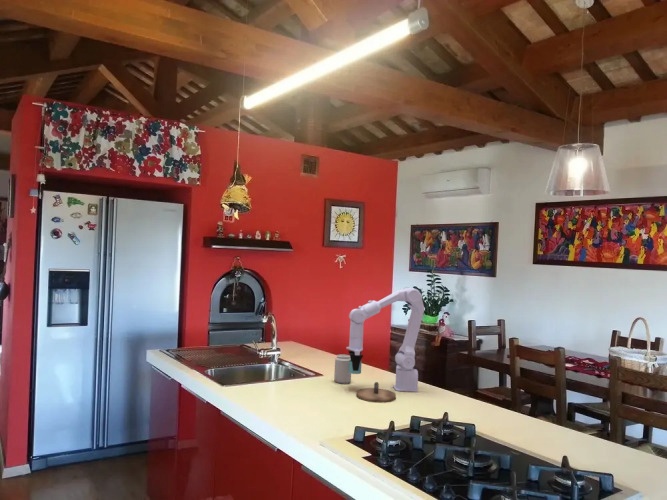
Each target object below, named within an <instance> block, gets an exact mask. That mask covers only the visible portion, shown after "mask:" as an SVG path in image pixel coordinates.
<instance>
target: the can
mask: <svg viewBox="0 0 667 500" xmlns="http://www.w3.org/2000/svg"><path fill="white" fill-rule="evenodd" d="M349 360H351V358H350V354H349V355H348V354H337V355H336V357H335V359H334V374H333V375H334V377H333V380H334V381H335V383H337V384H343V385H346V384H349V383H350V382H351V381H352V374H351V373H349V372H348V368H349Z"/></svg>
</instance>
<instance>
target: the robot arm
mask: <svg viewBox="0 0 667 500" xmlns="http://www.w3.org/2000/svg"><path fill="white" fill-rule="evenodd" d="M397 302H404V303H406V304H407V305H408V307H409V308H410V311H411V312H410V316H409V319H408V323H407V326H406V331H405V334H404V338H403V341H402V345H401V346H400V347H399V349H398V351H397V352H396V354H395V356H394V362H395V363H396V367H395V382H394V384H395V385H394V384H393V385H392V387H393V388H394V390H395V391H396V392H419V391H418V388H419V387H418V386H419V371H418V369H415V368H414V367H415V365H416V359H415V356H416V352H415V346H416V343H417V339H418V336H419V332H420V327H421V324H422V320H423V316H424V313H425V305H424V302H423V295H422V293H421V292H420V290H419V289H417V288H413V287H408V286H406V287H403V288H402V289H401V288H400V289H398V290H396V291H394V292H393V293H390V294H388V295H387V296H385V297H384V298H382V299H380V300H378V301H377V300H374V299H373V300H368V301H367V303H365V304H363V305H362V306H361V305H359V306H358V308H353V309H352V310H351V311H350V312H349V314H348V318H349V319H350V320H349V321H350V326H349V340H348V341H349V344H348V346H346V350H347V351H348V354H349V356H350V358H351V360H352V367H353V371H358V369H359V365H360V361H361V362H362V359H363V358H364V354H362V351H363V350H364V346H363V344H364V322H365V320H368V319H369V318H371V317H373V316H375V315H377V314H379V313H380V312H381V309H383V308H385V307H387V306H390V305H392V304H394V303H397Z"/></svg>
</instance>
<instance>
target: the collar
mask: <svg viewBox="0 0 667 500" xmlns="http://www.w3.org/2000/svg"><path fill="white" fill-rule="evenodd" d="M348 372H349V373H351V375H360V374H362V360H361V361H360V365H359V369H358V371H353V367H352V360H349V368H348Z"/></svg>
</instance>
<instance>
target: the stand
mask: <svg viewBox="0 0 667 500" xmlns="http://www.w3.org/2000/svg"><path fill="white" fill-rule="evenodd" d="M379 385H380V384H379V382H378V381H375V382H374V383H373V387H368V388H367V387H366V388H359V389H357V390H356V393H355V394H356V395H355V397H356V398H358V399H359V400H362V401H365V402H370V403H389V402H394V401H395V400H396V398H397V397H396V396H397V394H396V392H394V391H392V390H388V389H384V388H379V387H380V386H379Z"/></svg>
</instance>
